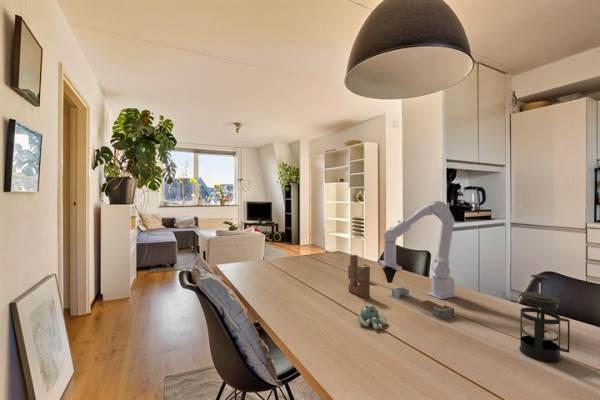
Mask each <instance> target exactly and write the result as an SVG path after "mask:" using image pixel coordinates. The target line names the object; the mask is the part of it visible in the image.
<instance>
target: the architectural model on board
mask: <svg viewBox="0 0 600 400" xmlns="http://www.w3.org/2000/svg"><path fill="white" fill-rule="evenodd" d="M368 266H369V264H366V263H364V265H363V266H359V265H358V273H359V272H360V271H361V270H362V269H363V268H364V267H368ZM347 276H348V277H347V278H348V279H349V280H350V264H349V265H348V266H347ZM358 282H359V280H358Z"/></svg>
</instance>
